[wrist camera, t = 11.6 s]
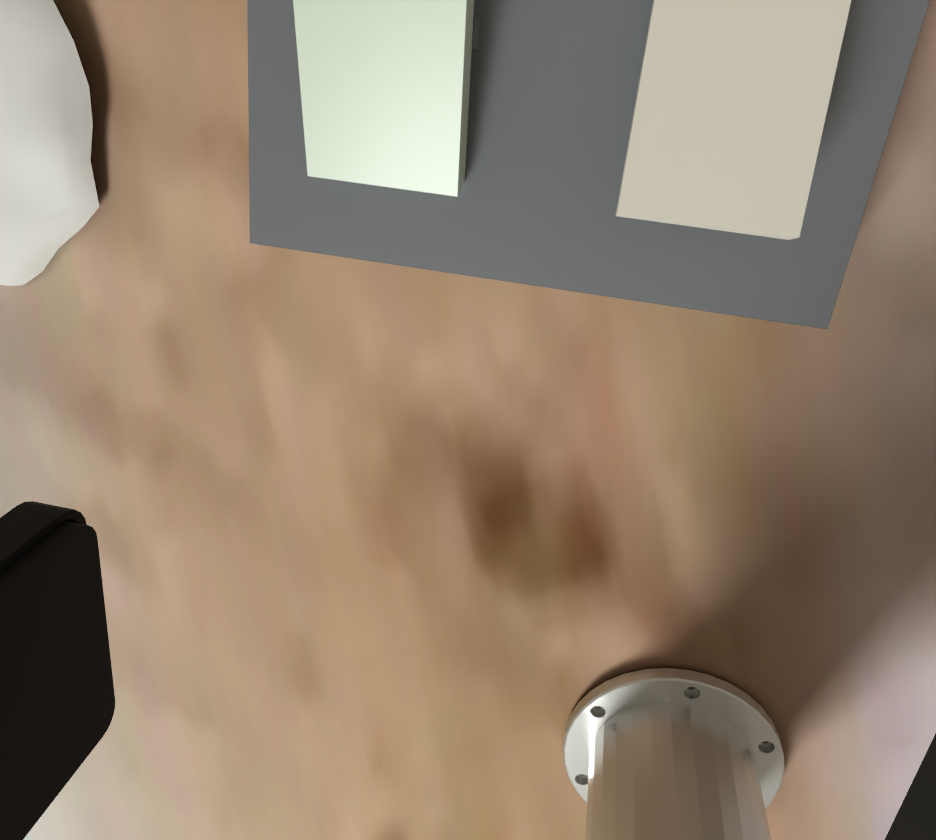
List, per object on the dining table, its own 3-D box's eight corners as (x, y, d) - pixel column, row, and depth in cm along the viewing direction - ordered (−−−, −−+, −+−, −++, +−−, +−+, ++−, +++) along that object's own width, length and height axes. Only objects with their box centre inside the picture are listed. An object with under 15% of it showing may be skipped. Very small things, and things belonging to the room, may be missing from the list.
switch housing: (801, 296, 36) (834, 337, 30) (293, 222, 38) (238, 248, 33) (943, -194, 28) (1022, -257, 23) (299, -242, 31) (229, -309, 25)
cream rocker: (788, 239, 27) (800, 237, 26) (615, 215, 28) (617, 212, 27) (864, -108, 25) (882, -134, 24) (675, -125, 26) (680, -151, 25)
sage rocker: (464, 181, 31) (456, 198, 30) (319, 162, 32) (305, 178, 31) (482, -161, 24) (472, -156, 23) (295, -177, 25) (275, -173, 24)
